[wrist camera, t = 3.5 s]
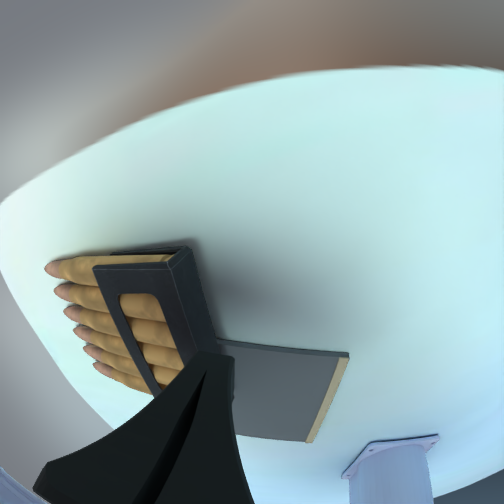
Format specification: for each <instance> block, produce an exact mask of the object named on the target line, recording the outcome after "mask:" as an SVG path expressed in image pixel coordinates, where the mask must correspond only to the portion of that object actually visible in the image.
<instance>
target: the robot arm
mask: <svg viewBox="0 0 504 504" xmlns="http://www.w3.org/2000/svg"><path fill="white" fill-rule="evenodd" d="M234 377H235V358H233V357H232V356H229V355H222V354H216V353H211V352H205V351H199V350H198V351H197V352H195V354H194V355H193V356H192V358H191V359H190V360H189V361H188V363H187V364H186V365H185V366H184V368H183V369H182V370H181V371H180V372H179V373H178V374H177V376H176V377H175V378H174V379H173V380H172V381H171V382H170V383H169V384H168V385H167V386H166V387H165V388H164V389H163V390H162V391H161V392H160V393H159V394H158V395H157V396H156V397H155V398H154V399H153V400H152V401H151V402H150V403H149V404H148V405H147V406H145V407H144V408H143V409H142V410H141V411H140V412H138V413H137V414H136V415H135V416H133V417H132V418H131V419H130V420H128V421H127V422H126V423H124V424H123V425H121V426H120V427H118V428H117V429H115V430H114V431H112V432H111V433H109V434H108V435H106V436H105V437H103V438H102V439H99V440H98V441H96V442H94V443H92V444H90V445H88V446H86V447H84V448H82V449H80V450H78V451H76V452H74V453H71V454H69V455H66V456H63V457H61V458H58V459H56V460H53V461H50V462H47V464H46V465H45V467H44V468H43V469H42V471H41V473H40V475H39V476H38V478H37V480H36V482H35V484H34V486H33V491H34V492H35V493H37V494H38V495H39V496H41V497H42V498H43V499H45V500H46V501H48V502H49V503H51V504H255V503H254V501H253V498H252V495H251V492H250V489H249V486H248V483H247V480H246V477H245V474H244V470H243V467H242V463H241V459H240V455H239V450H238V446H237V441H236V435H235V429H234V422H233V414H232V400H233V393H234ZM439 439H440V437H439V436H438V435H437V436H431V437H424V438H417V439H409V440H400V441H389V442H375V443H371V444H369V445H368V446H367V447H366V449H365V450H364V451H363V452H362V453H361V454H360V456H359V457H358V458H357V459H356V460H355V461H354V463H353V464H352V465H351V466H350V467H349V468H348V469H347V470H346V471H345V472H344V474H343V475H342V476H341V478H342V479H349V492H350V504H434V503H433V495H432V488H431V481H430V475H429V469H428V464H427V459H426V454H425V453H426V452H427V451H428V450H429V449H430V448H432V447H433V446H434V445H435V444H436V443H437V442H438V441H439ZM0 504H47V503H46V502H44V501H43V500H41V499H40V498H38V497H37V496H36V495H34V494H33V493H32V492H30V491H29V490H27V489H26V488H25V487H23V486H22V485H21V484H20V483H18V482H17V481H16V480H15V479H13V478H12V477H11V476H10V475H9V474H7V473H6V472H5V470H4V469H3V468H2V467H1V466H0Z"/></svg>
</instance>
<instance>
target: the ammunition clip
mask: <svg viewBox="0 0 504 504" xmlns="http://www.w3.org/2000/svg"><path fill="white" fill-rule="evenodd" d="M44 269H45V271H46V272H47V273H48V274H49V275H51V276H53V277H56V278H60V279H64V280H69V281H72V282H74V283H77V284H64V285H60V286H57V287H56V288H55V289H54V293H55V294H56V295H57V296H58V297H60V298H61V299H63V300H66V301H68V302H73V303H75V304H79V305H81V306H72V307H67V308H65V309H64V310H63V312H64V314H65V315H66V316H67V317H68V318H70V319H71V320H73V321H75V322H78V323H81V324H83V325H86V326H80V327H76V328H74V329H73V332H74V333H75V334H76V335H77V336H78V337H79V338H81V339H82V340H84V341H86V342H89V343H92V344H94V345H87V346H84V347H83V350H84V351H85V352H86V353H87V354H88V355H89V356H91V357H92V358H94V359H96V360H98V361H101V362H95V363H93V366H94V368H95V369H96V370H98V371H99V372H100V373H102V374H103V375H105V376H107V377H109V378H112V379H114V380H116V381H118V382H121V383H123V384H124V385H126V386H127V387H129V388H132V389H135V390H138V391H141V392H144V393H147V394H150V395H153V397H154V398H155V397H156V396H157V395H158V394H159V393H160V392H161V391H162V390H163V389H164V388H165V387H166V386H167V385H168V384H169V383H170V382H171V381H172V380H173V379H174V378H175V377H176V376H177V374H178V373H179V372H180V371H181V370H182V369H183V368H184V366H185V365H186V364H187V363H188V361H189V360H190V359H191V358H192V356H193V355H194V354H195V352H197V351H198V350H199V351H205V352H211V353H216V354H221V353H220V350H219V347H218V343H217V340H216V337H215V333H214V330H213V327H212V323H211V320H210V316H209V313H208V309H207V306H206V302H205V298H204V295H203V291H202V287H201V284H200V280H199V276H198V272H197V268H196V265H195V261H194V257H193V253H192V249H190V248H189V247H188V246H179V247H168V248H157V249H146V250H135V251H124V252H113V253H112V254H110V256H79V257H75V258H73V259H66V260H57V261H53V262H51V263H49V264H47V265H46V266H45V268H44ZM82 306H83V307H82ZM234 398H235V397H234V394H233V400H234ZM233 400H232V402H233Z"/></svg>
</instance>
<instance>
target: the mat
mask: <svg viewBox="0 0 504 504" xmlns="http://www.w3.org/2000/svg"><path fill="white" fill-rule="evenodd" d="M216 340H217V343H218V347H219V350H220V353H221V354H222V355H229V356H232V357H233V358H235V377H234V393H233V394H234V397H235V398H234V400H233V402H232V414H233V422H234V429H235V434H236V435H243V436H250V437H257V438H265V439H275V440H286V441H299V442H305V443H312V442H313V440H314V438H315V436H316V434H317V432H318V430H319V428H320V426H321V424H322V422H323V420H324V418H325V415H326V413H327V411H328V409H329V407H330V404H331V402H332V400H333V398H334V395H335V393H336V391H337V388H338V386H339V384H340V381H341V379H342V376H343V374H344V371H345V369H346V366H347V364H348V361H349V353H341V352H326V351H313V350H302V349H291V348H282V347H273V346H264V345H256V344H249V343H242V342H235V341H228V340H221V339H216Z"/></svg>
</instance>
